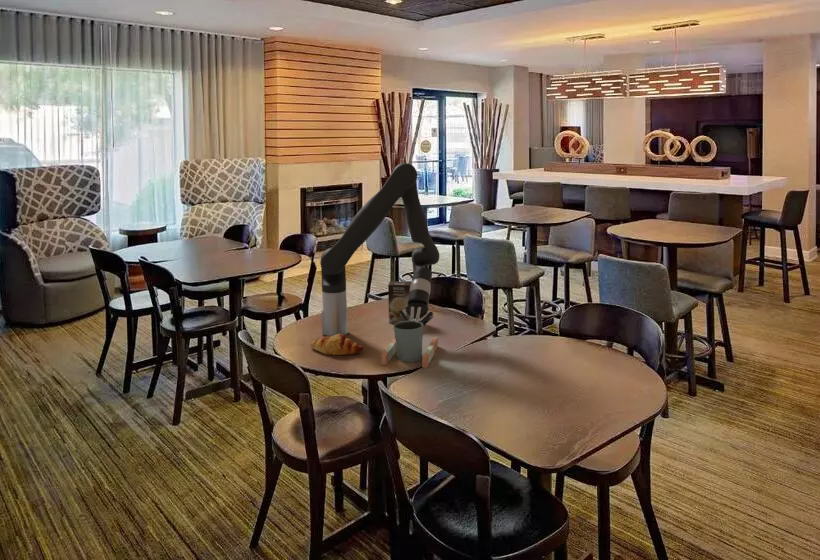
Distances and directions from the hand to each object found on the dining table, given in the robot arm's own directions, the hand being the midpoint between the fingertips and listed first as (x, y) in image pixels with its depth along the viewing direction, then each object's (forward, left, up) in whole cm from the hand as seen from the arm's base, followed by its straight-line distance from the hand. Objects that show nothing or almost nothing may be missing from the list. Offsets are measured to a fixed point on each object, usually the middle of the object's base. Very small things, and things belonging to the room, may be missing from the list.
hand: (412, 335), depth 238 cm
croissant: (-27, -4, -6) cm, 28 cm away
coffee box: (-13, +35, -6) cm, 38 cm away
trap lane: (0, -5, -6) cm, 7 cm away
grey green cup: (0, -7, -6) cm, 9 cm away
